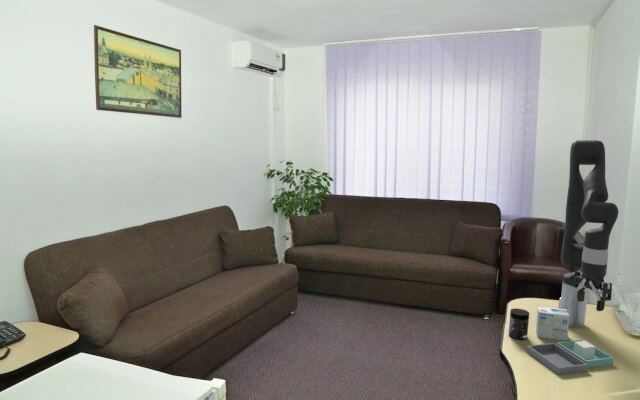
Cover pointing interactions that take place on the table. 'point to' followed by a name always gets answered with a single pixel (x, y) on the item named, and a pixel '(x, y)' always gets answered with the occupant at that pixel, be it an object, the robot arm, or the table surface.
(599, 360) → the bin
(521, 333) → the supplement container
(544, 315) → the light bulb box
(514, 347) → the table surface
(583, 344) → the stone block
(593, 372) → the table surface
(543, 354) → the bin
